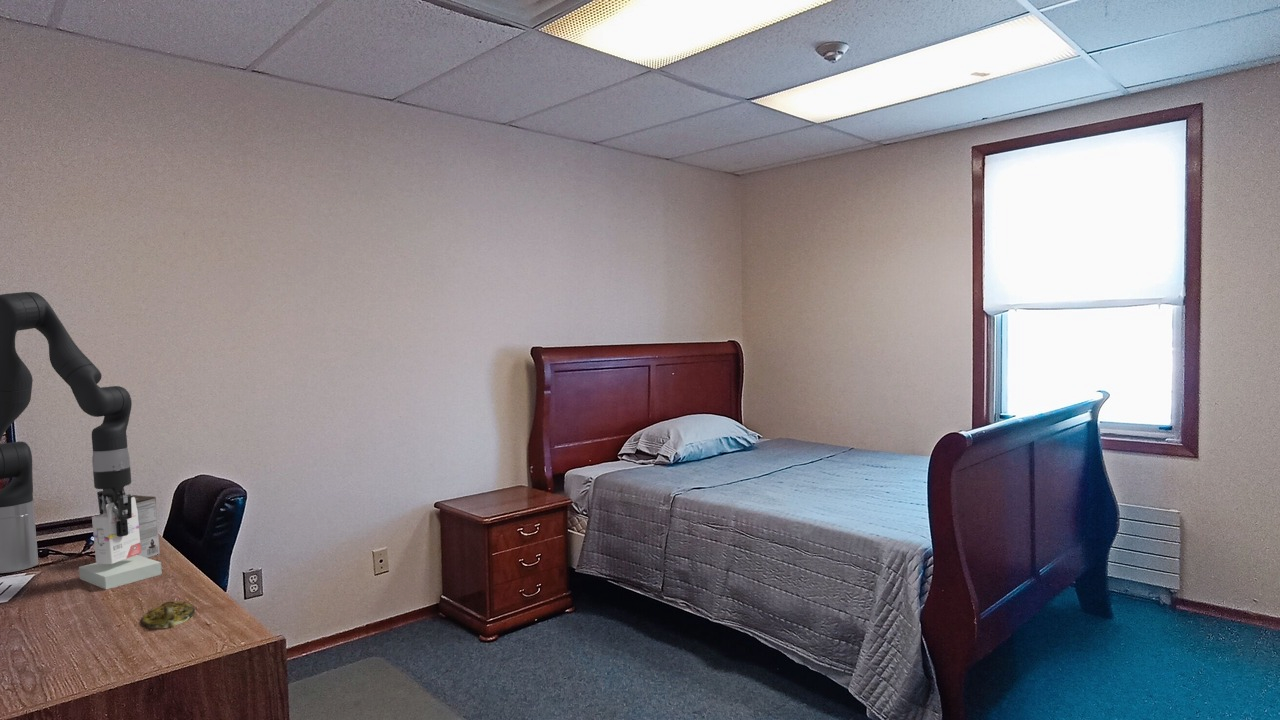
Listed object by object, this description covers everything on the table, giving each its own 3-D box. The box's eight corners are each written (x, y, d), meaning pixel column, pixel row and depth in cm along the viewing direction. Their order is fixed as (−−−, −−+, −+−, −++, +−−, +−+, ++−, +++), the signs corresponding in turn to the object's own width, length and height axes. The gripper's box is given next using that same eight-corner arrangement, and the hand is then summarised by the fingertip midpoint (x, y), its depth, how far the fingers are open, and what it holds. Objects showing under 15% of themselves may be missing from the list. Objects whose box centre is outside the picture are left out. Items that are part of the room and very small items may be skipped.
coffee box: (114, 559, 200) (109, 500, 200) (137, 551, 206) (132, 494, 206) (139, 561, 197) (134, 501, 197) (161, 553, 203) (157, 495, 203)
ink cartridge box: (125, 553, 189) (121, 495, 188) (141, 553, 188) (137, 496, 187) (94, 563, 181) (89, 504, 180) (111, 564, 179) (106, 504, 179)
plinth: (79, 578, 184) (78, 567, 184) (134, 564, 194) (133, 553, 194) (106, 589, 175) (105, 577, 175) (161, 574, 185) (160, 562, 185)
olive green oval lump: (141, 619, 159) (146, 639, 147) (136, 598, 158) (141, 617, 146) (191, 602, 164) (200, 621, 152) (186, 582, 164) (195, 599, 152)
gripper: (82, 468, 184) (87, 534, 185) (105, 472, 176) (111, 542, 177) (117, 462, 190) (122, 527, 191) (141, 466, 182) (146, 534, 183)
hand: (117, 534), depth 184 cm, fingers closed on ink cartridge box, 6 cm apart
